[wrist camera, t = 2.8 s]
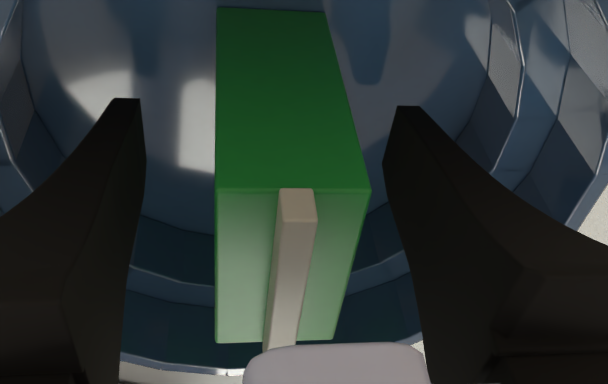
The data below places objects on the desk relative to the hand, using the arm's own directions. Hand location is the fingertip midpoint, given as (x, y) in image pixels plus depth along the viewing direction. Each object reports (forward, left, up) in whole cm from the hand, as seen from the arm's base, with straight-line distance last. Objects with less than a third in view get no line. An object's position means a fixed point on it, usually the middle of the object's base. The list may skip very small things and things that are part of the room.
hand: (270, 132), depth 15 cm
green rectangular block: (0, 0, -2) cm, 2 cm away
